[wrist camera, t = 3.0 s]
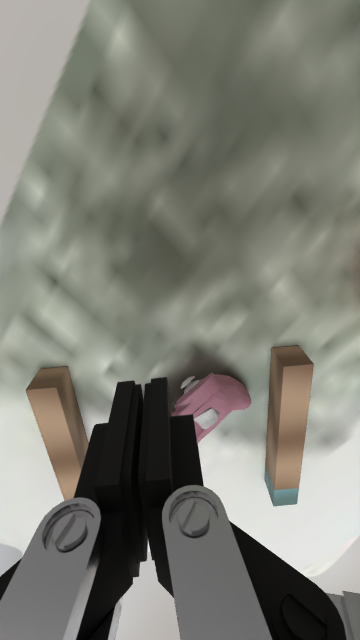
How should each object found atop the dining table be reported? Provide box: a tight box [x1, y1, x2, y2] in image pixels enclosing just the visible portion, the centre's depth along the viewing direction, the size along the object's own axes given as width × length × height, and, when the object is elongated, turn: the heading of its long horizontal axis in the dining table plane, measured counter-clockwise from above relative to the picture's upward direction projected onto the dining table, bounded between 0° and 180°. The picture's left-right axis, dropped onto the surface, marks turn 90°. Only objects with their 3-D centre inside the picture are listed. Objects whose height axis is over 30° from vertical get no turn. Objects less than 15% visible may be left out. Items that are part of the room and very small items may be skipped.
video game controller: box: [171, 373, 251, 444], centre depth 22 cm, size 10×5×7 cm, turn 135°
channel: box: [26, 346, 314, 506], centre depth 24 cm, size 14×19×2 cm
